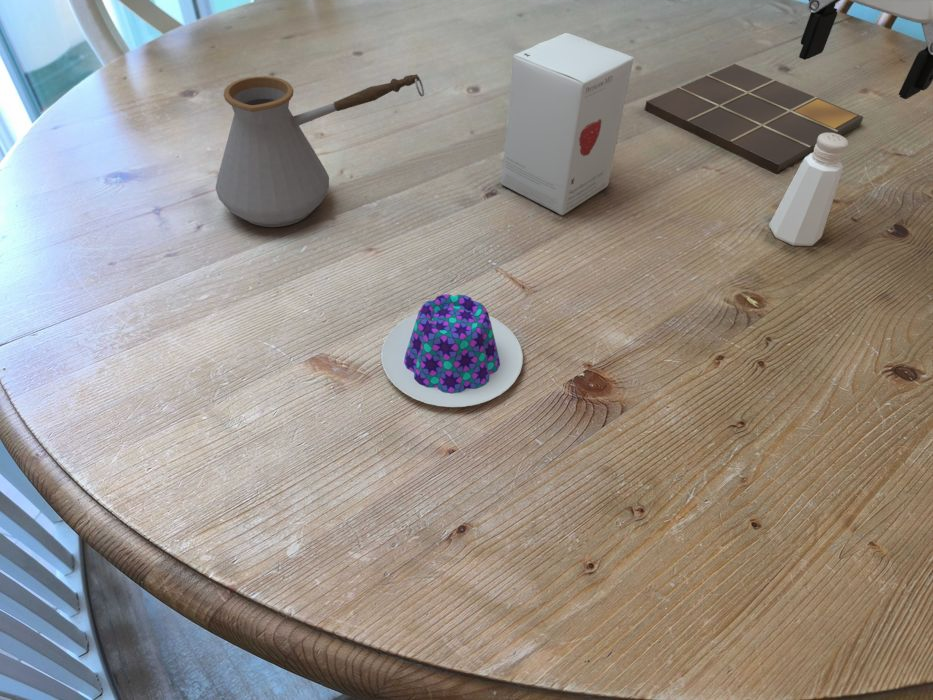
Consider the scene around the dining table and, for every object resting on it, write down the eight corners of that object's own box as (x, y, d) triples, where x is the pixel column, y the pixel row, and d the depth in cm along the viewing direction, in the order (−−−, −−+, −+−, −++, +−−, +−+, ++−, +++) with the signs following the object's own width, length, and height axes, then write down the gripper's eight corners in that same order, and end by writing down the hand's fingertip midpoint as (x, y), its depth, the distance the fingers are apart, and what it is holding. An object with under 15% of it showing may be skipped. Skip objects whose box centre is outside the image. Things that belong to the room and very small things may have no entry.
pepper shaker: (791, 252, 77) (832, 156, 70) (757, 223, 81) (792, 129, 73) (832, 241, 79) (876, 146, 71) (796, 213, 82) (835, 120, 75)
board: (860, 125, 98) (864, 115, 97) (775, 173, 88) (779, 163, 88) (732, 71, 109) (734, 62, 108) (644, 109, 99) (646, 100, 98)
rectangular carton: (562, 218, 80) (583, 83, 70) (499, 185, 84) (509, 53, 74) (611, 186, 85) (637, 55, 74) (548, 157, 89) (565, 29, 79)
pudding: (512, 424, 59) (518, 378, 55) (364, 400, 60) (361, 353, 57) (529, 324, 68) (535, 279, 64) (400, 305, 69) (398, 259, 65)
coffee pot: (208, 236, 75) (174, 93, 65) (234, 175, 83) (207, 40, 73) (421, 243, 76) (421, 103, 65) (426, 182, 84) (426, 49, 73)
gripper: (1096, -130, 53) (971, 99, 65) (869, -175, 62) (795, 34, 74) (1058, -118, 49) (932, 123, 61) (822, -168, 58) (752, 51, 70)
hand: (857, 74), depth 68 cm, fingers open, 9 cm apart
